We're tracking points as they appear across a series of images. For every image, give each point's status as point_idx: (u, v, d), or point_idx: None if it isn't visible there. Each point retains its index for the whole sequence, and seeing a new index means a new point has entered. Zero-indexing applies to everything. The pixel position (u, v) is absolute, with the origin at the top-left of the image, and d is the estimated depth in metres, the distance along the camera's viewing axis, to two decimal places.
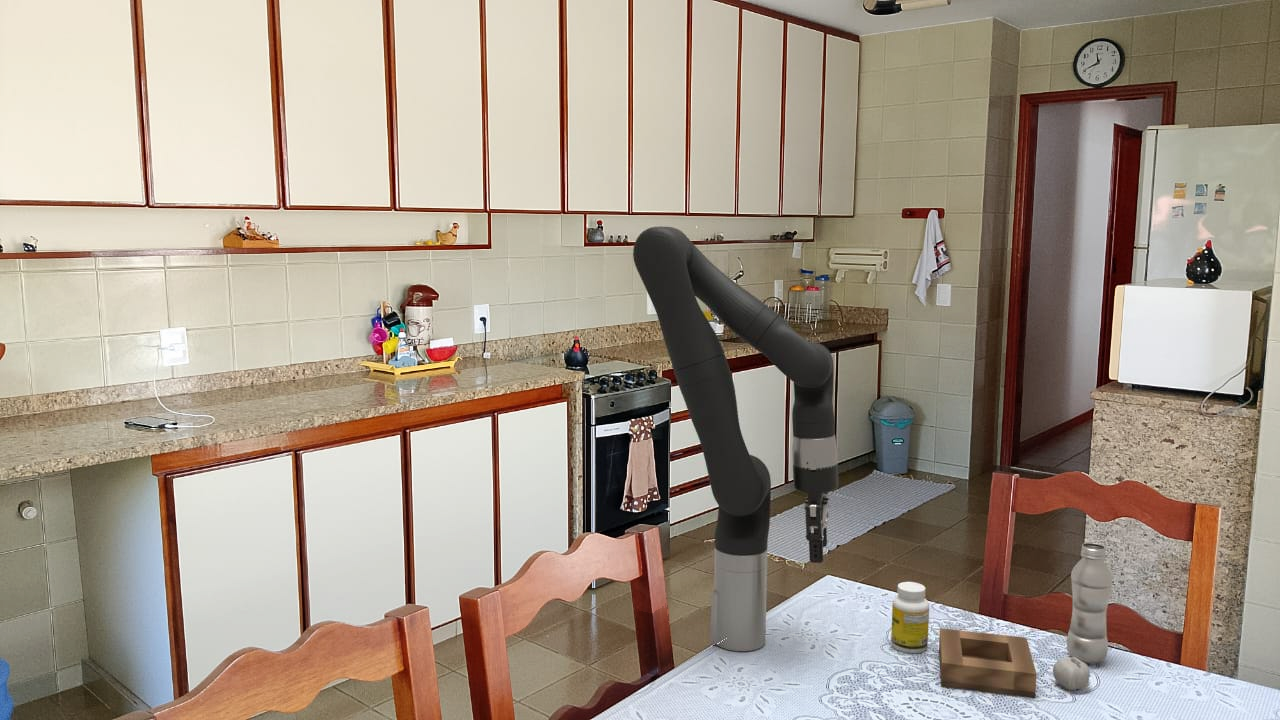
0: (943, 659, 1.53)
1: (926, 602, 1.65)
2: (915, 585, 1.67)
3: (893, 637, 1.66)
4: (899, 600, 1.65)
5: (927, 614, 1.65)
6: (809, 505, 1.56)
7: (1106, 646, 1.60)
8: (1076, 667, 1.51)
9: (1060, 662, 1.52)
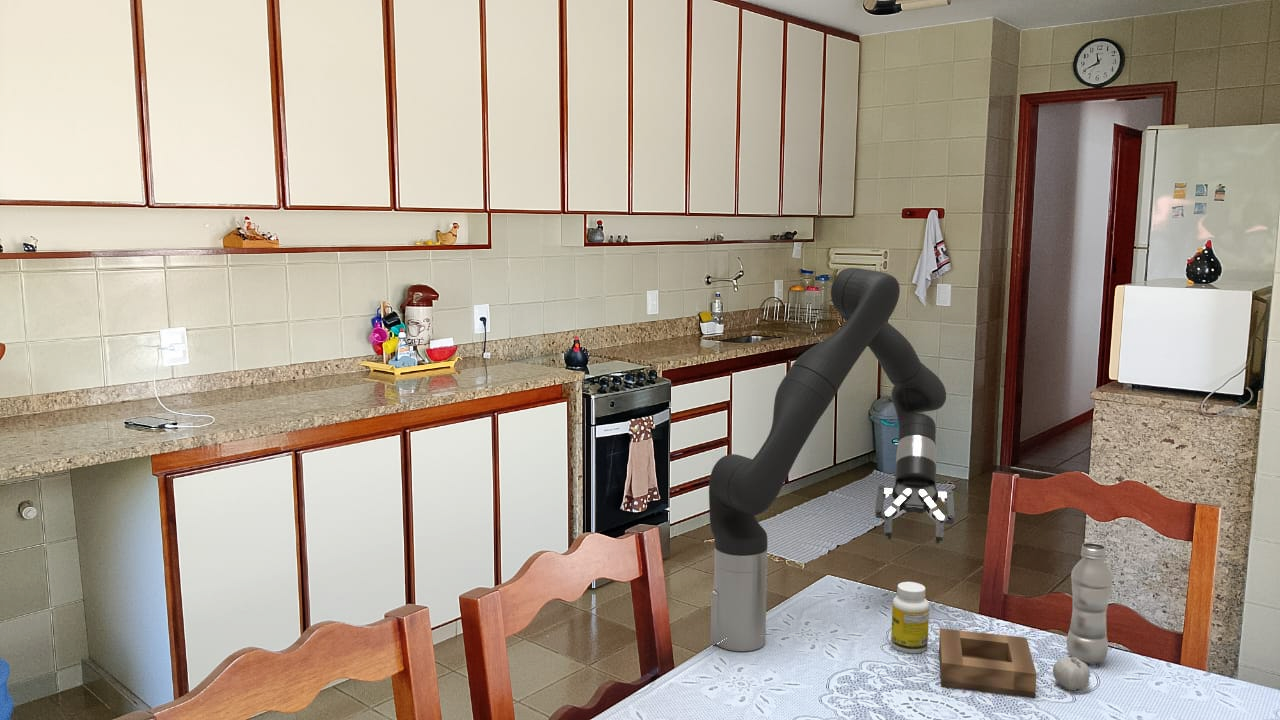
0: (943, 659, 1.53)
1: (926, 602, 1.65)
2: (915, 585, 1.67)
3: (893, 637, 1.66)
4: (899, 600, 1.65)
5: (927, 614, 1.65)
6: None
7: (1106, 646, 1.60)
8: (1076, 667, 1.51)
9: (1060, 662, 1.52)
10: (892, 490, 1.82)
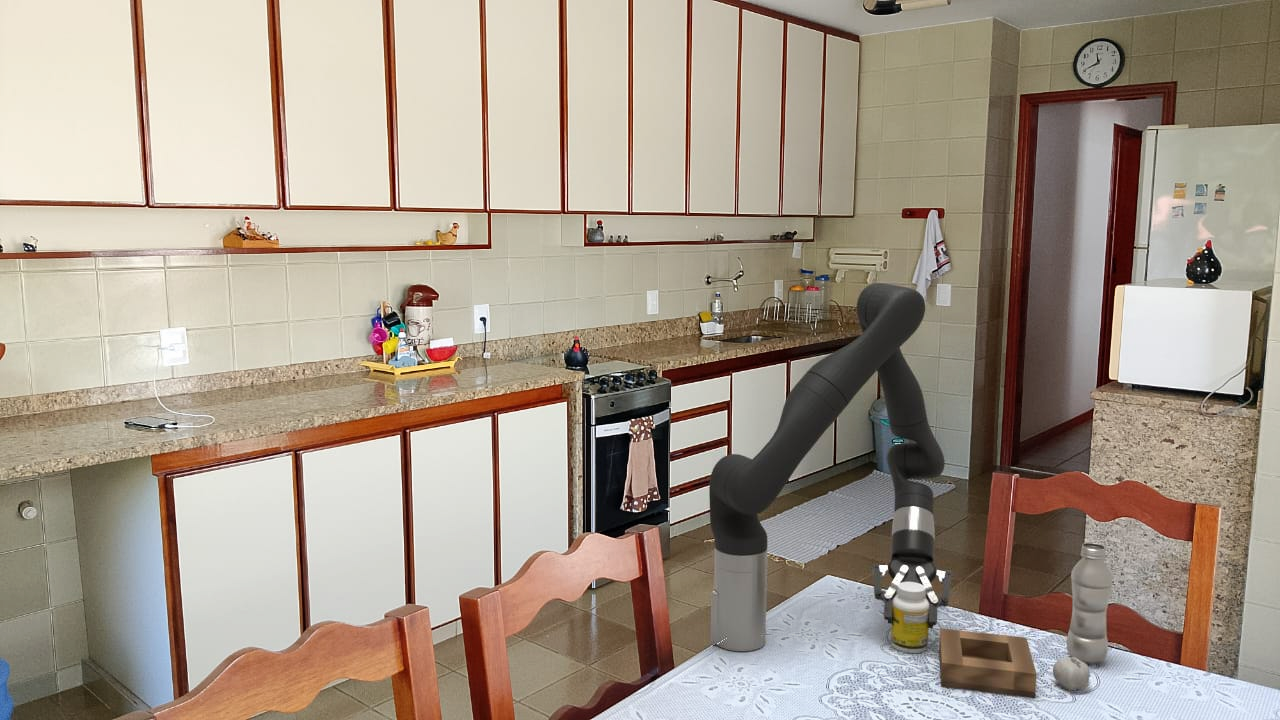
0: (943, 659, 1.53)
1: (926, 602, 1.65)
2: (915, 585, 1.67)
3: (893, 637, 1.66)
4: (899, 600, 1.65)
5: (927, 613, 1.65)
6: None
7: (1106, 646, 1.60)
8: (1076, 667, 1.51)
9: (1060, 662, 1.52)
10: (888, 567, 1.71)
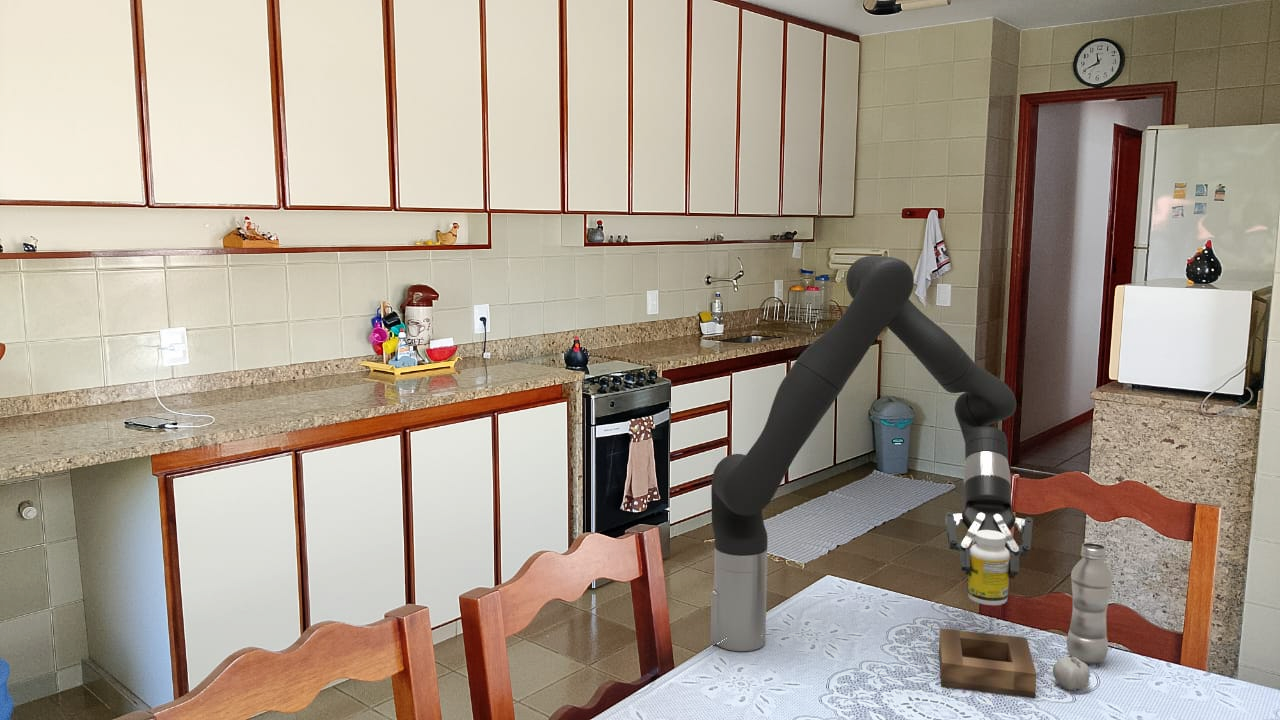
0: (943, 659, 1.53)
1: (1007, 550, 1.54)
2: (994, 533, 1.56)
3: (971, 589, 1.55)
4: (978, 549, 1.54)
5: (1008, 563, 1.54)
6: None
7: (1106, 646, 1.60)
8: (1076, 667, 1.51)
9: (1060, 662, 1.52)
10: (962, 515, 1.60)
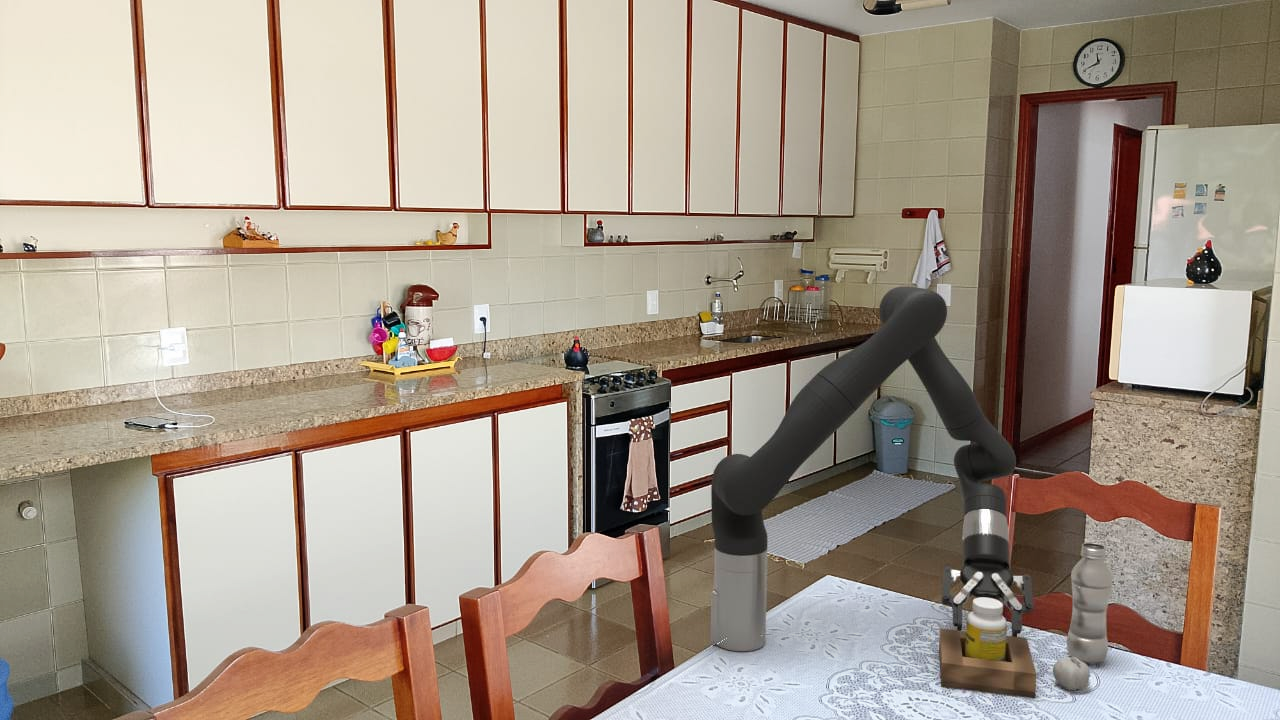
0: (943, 659, 1.53)
1: (1004, 619, 1.55)
2: (992, 601, 1.57)
3: (967, 656, 1.57)
4: (975, 617, 1.55)
5: (1005, 632, 1.55)
6: None
7: (1106, 646, 1.60)
8: (1076, 667, 1.51)
9: (1060, 662, 1.52)
10: (960, 572, 1.61)
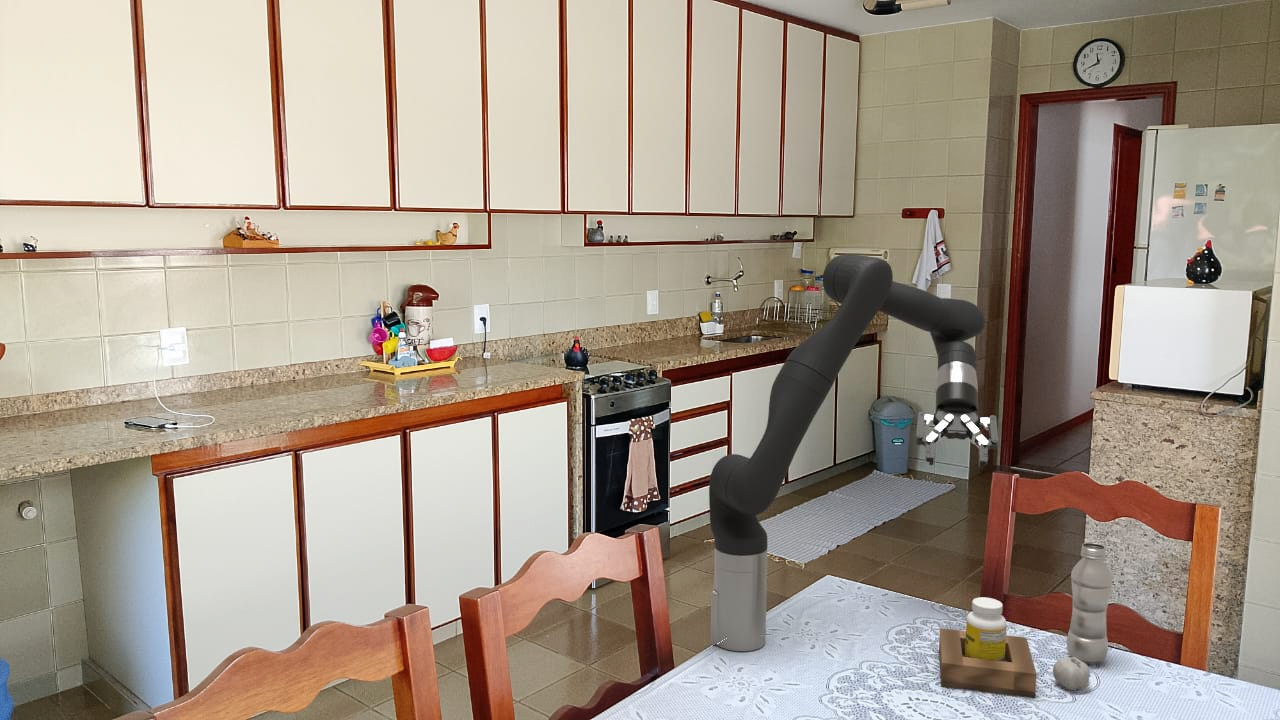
0: (943, 659, 1.53)
1: (1003, 619, 1.55)
2: (991, 601, 1.57)
3: (967, 656, 1.57)
4: (975, 617, 1.55)
5: (1005, 631, 1.55)
6: None
7: (1106, 646, 1.60)
8: (1076, 667, 1.51)
9: (1060, 662, 1.52)
10: (933, 416, 1.78)
